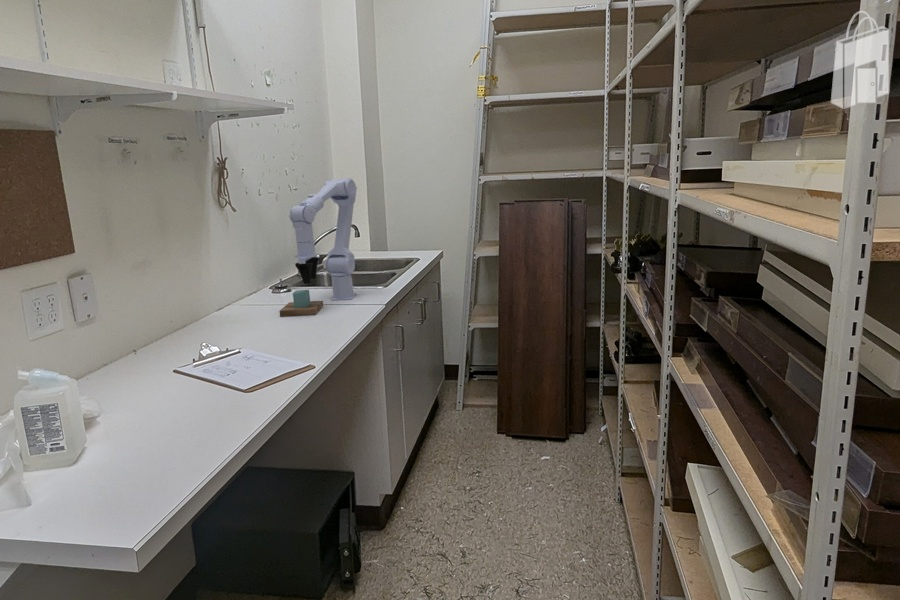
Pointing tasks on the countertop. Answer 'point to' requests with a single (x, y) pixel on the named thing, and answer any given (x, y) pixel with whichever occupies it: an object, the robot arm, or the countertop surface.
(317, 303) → the walnut plinth
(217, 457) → the countertop surface
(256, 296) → the countertop surface
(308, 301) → the teal block
